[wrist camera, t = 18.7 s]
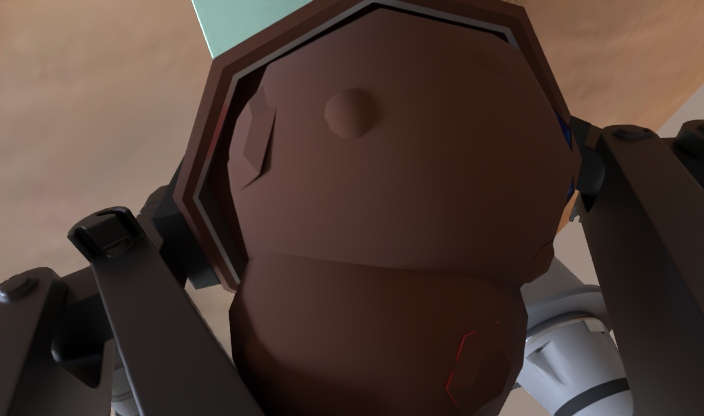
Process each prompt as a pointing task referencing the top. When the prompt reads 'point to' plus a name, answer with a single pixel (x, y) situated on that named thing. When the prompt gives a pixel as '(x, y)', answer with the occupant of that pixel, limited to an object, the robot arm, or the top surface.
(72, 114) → the top surface
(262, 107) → the ice cream bowl
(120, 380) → the flashlight
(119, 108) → the top surface
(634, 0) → the top surface
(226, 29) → the scale
